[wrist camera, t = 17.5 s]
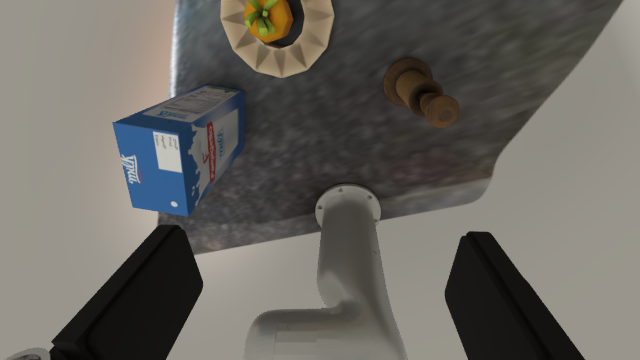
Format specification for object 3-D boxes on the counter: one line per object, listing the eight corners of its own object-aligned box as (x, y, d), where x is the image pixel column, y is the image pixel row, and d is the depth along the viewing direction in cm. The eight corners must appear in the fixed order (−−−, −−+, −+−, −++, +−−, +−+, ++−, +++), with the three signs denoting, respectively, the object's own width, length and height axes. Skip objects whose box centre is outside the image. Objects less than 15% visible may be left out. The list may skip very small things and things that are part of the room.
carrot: (265, -4, 36) (224, -21, 23) (301, -1, 36) (281, -16, 23) (265, 37, 39) (229, 43, 26) (300, 41, 39) (280, 48, 26)
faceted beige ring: (343, 55, 39) (344, 58, 36) (256, 83, 42) (248, 88, 38) (315, -66, 33) (312, -77, 29) (214, -24, 35) (200, -30, 32)
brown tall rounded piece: (394, 111, 43) (424, 159, 27) (375, 74, 40) (397, 104, 24) (434, 88, 40) (494, 127, 25) (418, 48, 38) (472, 62, 22)
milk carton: (205, 83, 42) (112, 122, 25) (244, 90, 42) (178, 133, 25) (209, 141, 47) (132, 208, 30) (243, 147, 47) (188, 217, 30)
